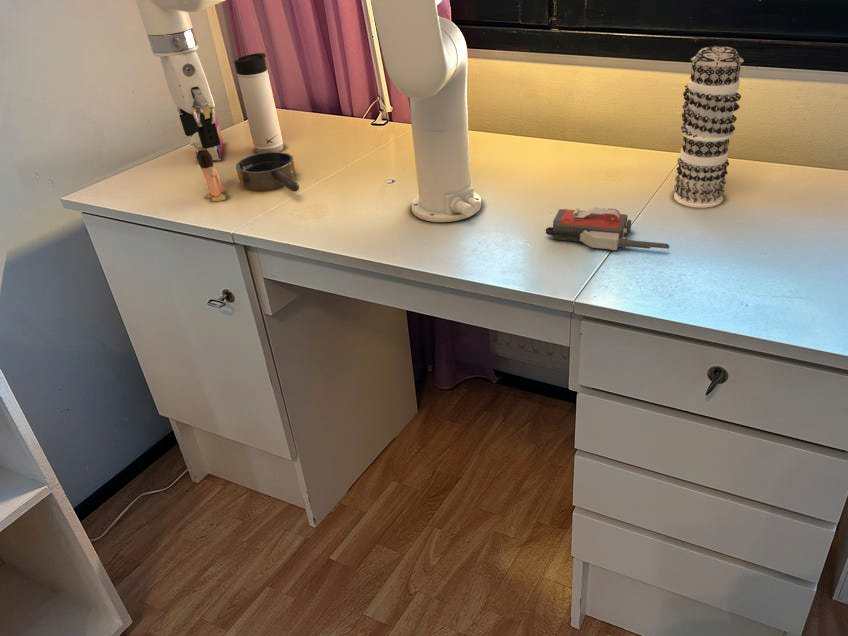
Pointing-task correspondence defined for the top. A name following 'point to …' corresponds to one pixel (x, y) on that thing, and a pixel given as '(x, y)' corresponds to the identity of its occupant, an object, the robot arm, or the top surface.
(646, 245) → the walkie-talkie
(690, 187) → the white patterned cylinder
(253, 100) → the travel mug
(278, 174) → the pan handle
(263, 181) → the pan
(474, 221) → the top surface
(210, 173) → the grandmother figurine
